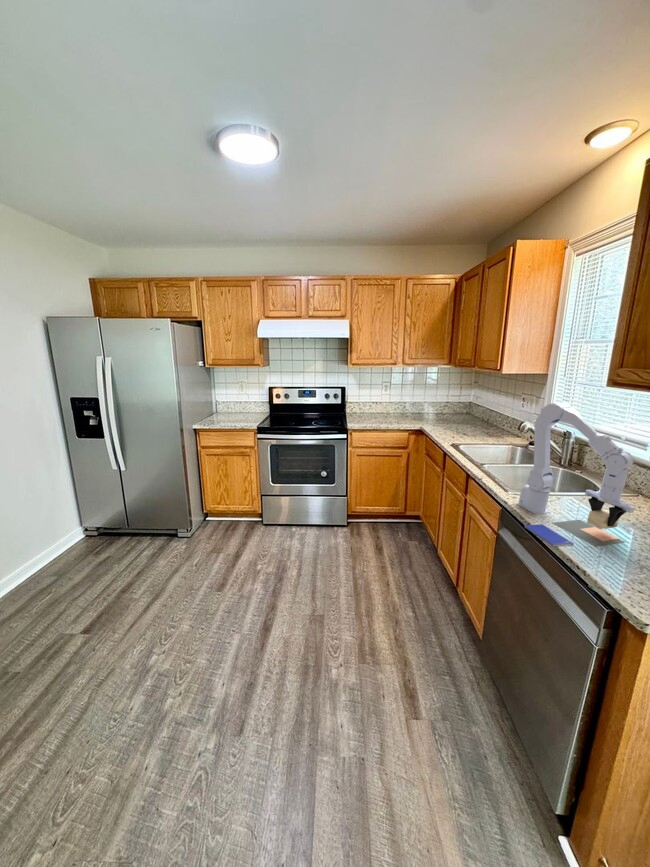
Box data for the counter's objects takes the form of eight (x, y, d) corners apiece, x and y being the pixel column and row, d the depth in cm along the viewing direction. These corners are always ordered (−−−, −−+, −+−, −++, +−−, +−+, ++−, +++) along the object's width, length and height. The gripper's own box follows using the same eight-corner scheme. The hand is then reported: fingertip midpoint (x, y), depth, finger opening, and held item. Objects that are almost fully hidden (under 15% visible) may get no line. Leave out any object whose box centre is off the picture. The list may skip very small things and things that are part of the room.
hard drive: (574, 543, 109) (543, 524, 121) (553, 544, 108) (524, 525, 120) (573, 547, 110) (542, 528, 122) (552, 548, 108) (523, 529, 120)
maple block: (603, 520, 120) (606, 509, 118) (616, 527, 115) (620, 515, 114) (586, 522, 117) (589, 511, 116) (599, 529, 113) (603, 517, 112)
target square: (579, 529, 120) (579, 528, 120) (595, 527, 122) (595, 527, 122) (602, 541, 112) (602, 540, 112) (619, 539, 115) (619, 538, 115)
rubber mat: (551, 523, 124) (551, 522, 124) (579, 520, 128) (579, 519, 128) (595, 547, 109) (595, 546, 109) (625, 543, 113) (625, 542, 113)
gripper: (582, 479, 119) (573, 513, 122) (627, 495, 105) (616, 534, 108) (596, 478, 121) (588, 512, 124) (643, 494, 107) (632, 532, 110)
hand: (602, 522), depth 116 cm, fingers closed on maple block, 4 cm apart
